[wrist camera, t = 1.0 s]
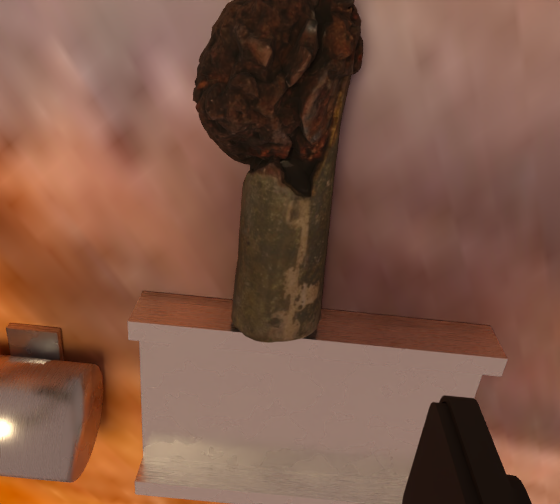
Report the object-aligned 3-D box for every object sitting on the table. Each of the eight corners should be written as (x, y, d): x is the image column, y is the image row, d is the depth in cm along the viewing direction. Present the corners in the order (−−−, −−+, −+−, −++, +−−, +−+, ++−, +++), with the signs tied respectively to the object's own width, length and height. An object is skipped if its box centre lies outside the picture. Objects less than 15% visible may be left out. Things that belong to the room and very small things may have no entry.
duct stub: (102, 332, 32) (55, 417, 26) (108, 418, 35) (68, 512, 29) (-32, 319, 32) (-111, 400, 26) (-14, 406, 35) (-80, 498, 29)
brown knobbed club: (319, 300, 31) (321, 364, 26) (203, 288, 31) (182, 350, 26) (371, -53, 23) (389, -58, 18) (212, -69, 23) (184, -79, 18)
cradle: (490, 325, 31) (507, 358, 28) (436, 484, 37) (447, 523, 34) (142, 290, 31) (127, 321, 28) (147, 456, 37) (135, 494, 34)
